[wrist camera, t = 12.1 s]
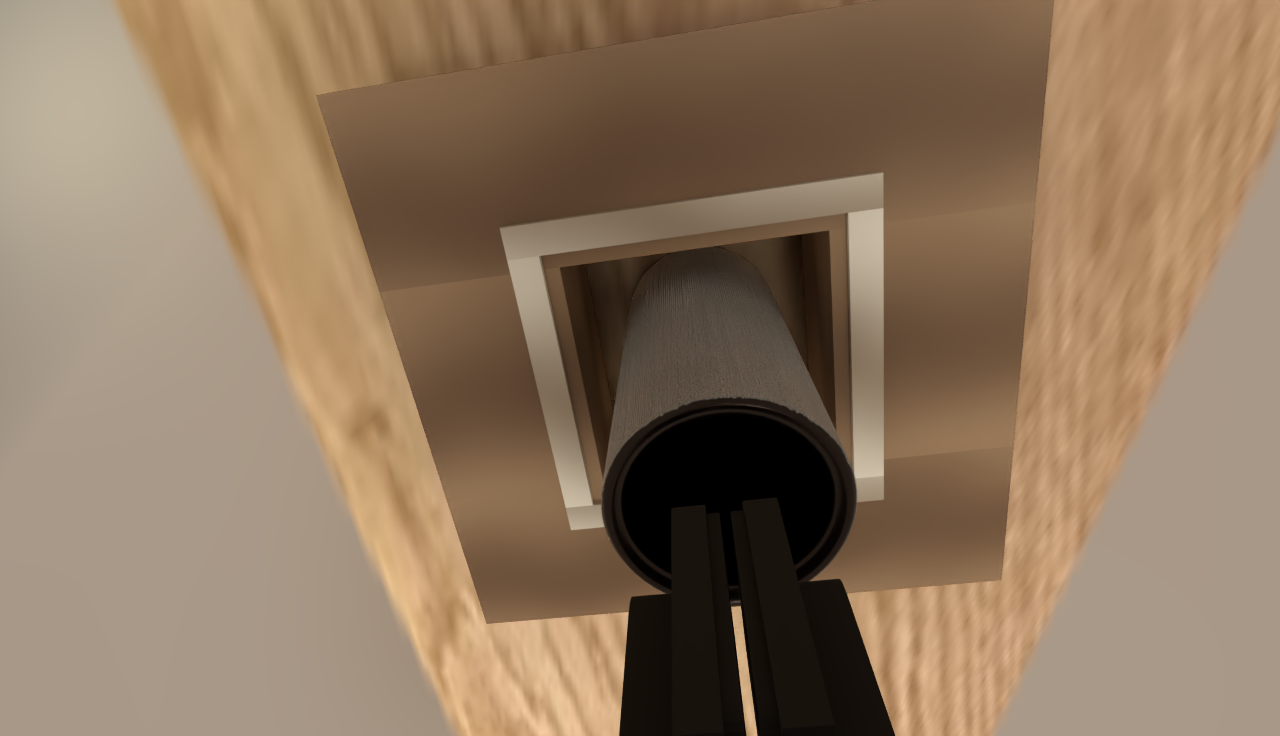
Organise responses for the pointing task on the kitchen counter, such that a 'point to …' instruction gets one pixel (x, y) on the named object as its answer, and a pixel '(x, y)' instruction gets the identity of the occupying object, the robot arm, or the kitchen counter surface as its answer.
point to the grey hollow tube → (718, 420)
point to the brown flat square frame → (704, 217)
